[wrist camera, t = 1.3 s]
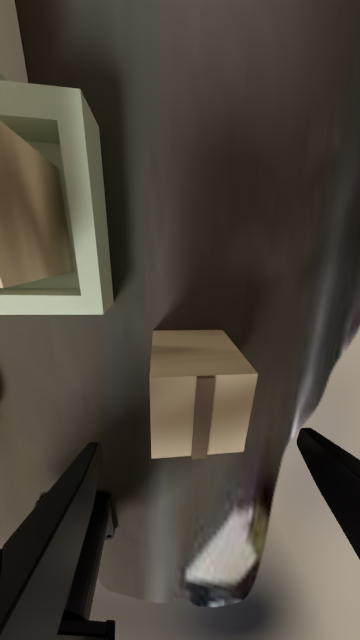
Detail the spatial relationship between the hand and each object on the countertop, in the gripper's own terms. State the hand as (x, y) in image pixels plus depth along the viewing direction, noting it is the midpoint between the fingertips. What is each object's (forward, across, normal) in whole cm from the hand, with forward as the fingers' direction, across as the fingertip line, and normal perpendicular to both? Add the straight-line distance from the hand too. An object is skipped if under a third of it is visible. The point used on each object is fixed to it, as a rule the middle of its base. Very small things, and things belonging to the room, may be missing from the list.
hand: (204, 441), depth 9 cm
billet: (+7, 0, 0) cm, 7 cm away
